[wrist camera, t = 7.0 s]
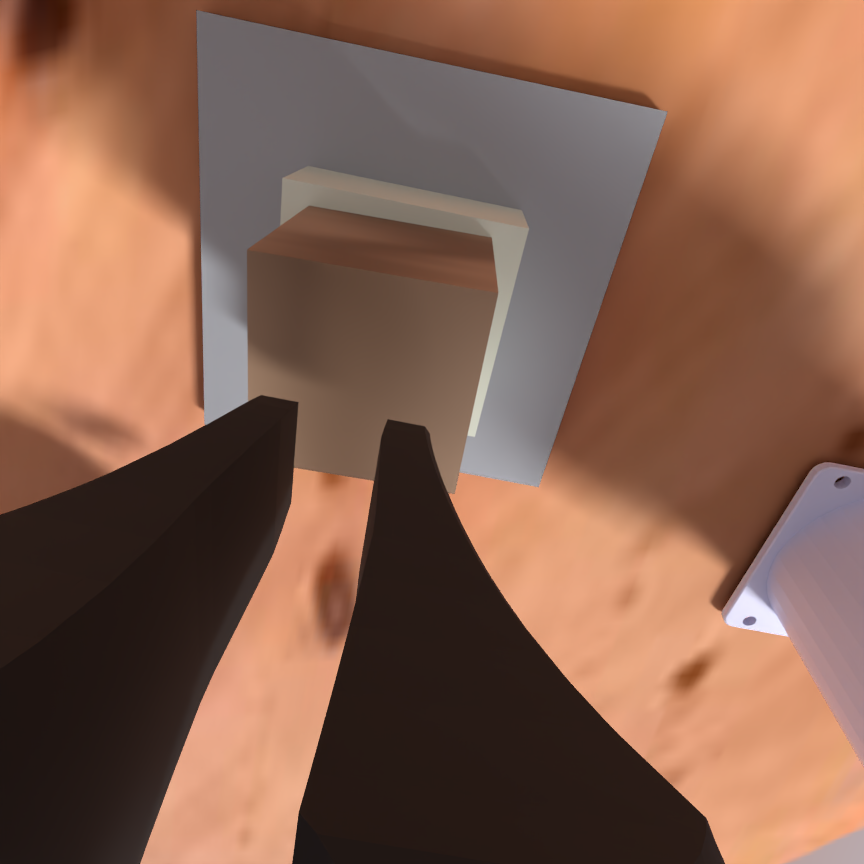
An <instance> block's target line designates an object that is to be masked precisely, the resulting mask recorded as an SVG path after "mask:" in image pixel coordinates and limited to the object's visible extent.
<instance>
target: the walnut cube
mask: <svg viewBox="0 0 864 864" xmlns="http://www.w3.org/2000/svg"><path fill="white" fill-rule="evenodd" d="M497 298H498V285H497V276H496V268H495V259H494V251H493V242H492V237H486V236H480V235H475V234H469V233H463V232H458V231H452V230H446V229H441V228H435V227H429V226H423V225H418V224H412V223H406V222H401V221H395V220H389V219H383V218H378V217H372V216H366V215H361V214H355V213H349V212H344V211H338V210H332V209H326V208H321V207H315V206H308V207H306V208H305V209H303V210H302V211H301V212H299V213H298V214H296V215H295V216H293V217H292V218H291V219H289V220H288V221H286V222H285V223H284V224H282V225H281V226H279V227H278V228H277V229H275V230H274V231H272V232H271V233H270V234H268V235H267V236H265V237H264V238H263V239H261V240H260V241H258V242H257V243H255V244H254V245H253V246H251V247H250V248H248V249H247V340H248V401H250V400H252V399H254V398H256V397H258V396H260V395H264V396H269V397H274V398H280V399H285V400H290V401H295V402H299V403H298V417H297V430H296V444H295V457H294V468H300V469H306V470H312V471H318V472H324V473H330V474H336V475H342V476H348V477H354V478H361V479H367V480H373V481H374V478H375V472H376V466H377V460H378V454H379V448H380V442H381V436H382V433H383V430H384V427H385V425H386V422H387V419H390V420H395V421H400V422H405V423H411V424H416V425H421V426H425V427H426V429H427V430H428V432H429V433H430V439H431V444H432V448H433V452H434V456H435V459H436V462H437V465H438V468H439V471H440V474H441V477H442V480H443V482H444V485H445V487H446V490H447V492H448V493H452V494H455V490H456V485H457V481H458V476H459V471H460V467H461V462H462V458H463V453H464V449H465V444H466V439H467V435H468V430H469V426H470V421H471V416H472V412H473V407H474V403H475V398H476V394H477V389H478V384H479V380H480V375H481V371H482V366H483V362H484V357H485V352H486V348H487V343H488V339H489V334H490V330H491V325H492V320H493V316H494V311H495V307H496V302H497Z"/></svg>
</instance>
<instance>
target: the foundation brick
mask: <svg viewBox="0 0 864 864" xmlns="http://www.w3.org/2000/svg"><path fill="white" fill-rule="evenodd" d="M308 206H315V207H321V208H326V209H332V210H338V211H344V212H349V213H355V214H361V215H366V216H372V217H378V218H383V219H389V220H395V221H401V222H406V223H412V224H418V225H423V226H429V227H435V228H441V229H446V230H452V231H458V232H463V233H469V234H475V235H480V236H486V237H492V242H493V251H494V259H495V268H496V276H497V285H498V298H497V302H496V307H495V311H494V316H493V320H492V325H491V330H490V334H489V339H488V343H487V348H486V352H485V357H484V362H483V366H482V371H481V375H480V380H479V384H478V389H477V394H476V398H475V403H474V407H473V412H472V416H471V421H470V426H469V430H468V435H467V436H472V437H475V435H476V431H477V427H478V423H479V419H480V415H481V412H482V408H483V404H484V400H485V396H486V392H487V389H488V385H489V381H490V377H491V373H492V369H493V365H494V362H495V358H496V354H497V350H498V346H499V342H500V339H501V335H502V331H503V327H504V323H505V319H506V315H507V312H508V308H509V304H510V300H511V296H512V292H513V289H514V285H515V281H516V277H517V273H518V269H519V265H520V262H521V258H522V254H523V250H524V246H525V242H526V239H527V235H528V231H529V227H528V225H527V222H526V220H525V217H524V214H523V212H522V210H519V209H514V208H509V207H505V206H500V205H495V204H490V203H485V202H480V201H475V200H471V199H466V198H461V197H456V196H451V195H446V194H442V193H437V192H432V191H427V190H422V189H417V188H413V187H408V186H403V185H398V184H393V183H388V182H384V181H379V180H374V179H369V178H364V177H359V176H355V175H350V174H345V173H340V172H335V171H330V170H326V169H321V168H316V167H311V166H307V167H305V168H303V169H301V170H298V171H296V172H294V173H292V174H290V175H288V176H286V177H283V178H282V198H281V219H280V226H281V225H282V224H284V223H285V222H286V221H288V220H289V219H291V218H292V217H293V216H295V215H296V214H298V213H299V212H301V211H302V210H303V209H305V208H306V207H308Z"/></svg>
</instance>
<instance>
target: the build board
mask: <svg viewBox="0 0 864 864" xmlns="http://www.w3.org/2000/svg"><path fill="white" fill-rule="evenodd" d="M196 17H197V67H198V118H199V168H200V219H201V270H202V320H203V371H204V421H205V424H206V425H207V424H209V423H210V422H212V421H214V420H216V419H218V418H219V417H221V416H223V415H225V414H227V413H228V412H230V411H232V410H234V409H235V408H237V407H239V406H241V405H243V404H244V403H246V402H248V340H247V249H248V248H250V247H251V246H253V245H254V244H255V243H257V242H258V241H260V240H261V239H263V238H264V237H265V236H267V235H268V234H270V233H271V232H272V231H274V230H275V229H277V228H278V227H279V226H280V219H281V198H282V178H283V177H286V176H288V175H290V174H292V173H294V172H296V171H298V170H301V169H303V168H305V167H307V166H311V167H316V168H321V169H326V170H330V171H335V172H340V173H345V174H350V175H355V176H359V177H364V178H369V179H374V180H379V181H384V182H388V183H393V184H398V185H403V186H408V187H413V188H417V189H422V190H427V191H432V192H437V193H442V194H446V195H451V196H456V197H461V198H466V199H471V200H475V201H480V202H485V203H490V204H495V205H500V206H505V207H509V208H514V209H519V210H522V212H523V214H524V217H525V220H526V222H527V225H528V227H529V231H528V235H527V239H526V242H525V246H524V250H523V254H522V258H521V262H520V265H519V269H518V273H517V277H516V281H515V285H514V289H513V292H512V296H511V300H510V304H509V308H508V312H507V315H506V319H505V323H504V327H503V331H502V335H501V339H500V342H499V346H498V350H497V354H496V358H495V362H494V365H493V369H492V373H491V377H490V381H489V385H488V389H487V392H486V396H485V400H484V404H483V408H482V412H481V415H480V419H479V423H478V427H477V431H476V435H475V437H472V436H467V439H466V444H465V449H464V453H463V458H462V462H461V467H460V471H459V472H461V473H466V474H472V475H477V476H482V477H488V478H493V479H498V480H504V481H509V482H514V483H520V484H525V485H530V486H535V487H539V484H540V482H541V479H542V476H543V473H544V470H545V467H546V464H547V461H548V458H549V455H550V452H551V450H552V447H553V444H554V441H555V438H556V435H557V432H558V429H559V426H560V423H561V420H562V418H563V415H564V412H565V409H566V406H567V403H568V400H569V397H570V394H571V391H572V388H573V386H574V383H575V380H576V377H577V374H578V371H579V368H580V365H581V362H582V359H583V356H584V354H585V351H586V348H587V345H588V342H589V339H590V336H591V333H592V330H593V327H594V324H595V322H596V319H597V316H598V313H599V310H600V307H601V304H602V301H603V298H604V295H605V292H606V290H607V287H608V284H609V281H610V278H611V275H612V272H613V269H614V266H615V263H616V260H617V258H618V255H619V252H620V249H621V246H622V243H623V240H624V237H625V234H626V231H627V228H628V226H629V223H630V220H631V217H632V214H633V211H634V208H635V205H636V202H637V199H638V196H639V194H640V191H641V188H642V185H643V182H644V179H645V176H646V173H647V170H648V167H649V164H650V161H651V159H652V156H653V153H654V150H655V147H656V144H657V141H658V138H659V135H660V132H661V129H662V127H663V124H664V121H665V118H666V115H667V111H662V110H658V109H653V108H648V107H644V106H639V105H634V104H630V103H625V102H621V101H616V100H611V99H607V98H602V97H597V96H593V95H588V94H583V93H579V92H574V91H569V90H565V89H560V88H556V87H551V86H546V85H542V84H537V83H532V82H528V81H523V80H518V79H514V78H509V77H505V76H500V75H495V74H491V73H486V72H481V71H477V70H472V69H467V68H463V67H458V66H454V65H449V64H444V63H440V62H435V61H430V60H426V59H421V58H416V57H412V56H407V55H403V54H398V53H393V52H389V51H384V50H379V49H375V48H370V47H365V46H361V45H356V44H351V43H347V42H342V41H338V40H333V39H328V38H324V37H319V36H314V35H310V34H305V33H300V32H296V31H291V30H287V29H282V28H277V27H273V26H268V25H263V24H259V23H254V22H249V21H245V20H240V19H236V18H231V17H226V16H222V15H217V14H212V13H208V12H203V11H198V10H196Z"/></svg>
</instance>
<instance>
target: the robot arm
mask: <svg viewBox="0 0 864 864" xmlns="http://www.w3.org/2000/svg"><path fill="white" fill-rule="evenodd" d="M298 403H299V402H295V401H290V400H285V399H280V398H274V397H269V396H264V395H260V396H258V397H256V398H254V399H252V400H250V401H248V402H246V403H244V404H243V405H241V406H239V407H237V408H235V409H234V410H232V411H230V412H228V413H227V414H225V415H223V416H221V417H219V418H218V419H216V420H214V421H212V422H210V423H209V424H207V425H205V426H203V427H201V428H199V429H197V430H196V431H194V432H192V433H190V434H188V435H186V436H185V437H183V438H181V439H179V440H177V441H175V442H173V443H171V444H170V445H168V446H165V447H163V448H161V449H159V450H157V451H155V452H153V453H151V454H149V455H147V456H145V457H142V458H140V459H138V460H136V461H134V462H132V463H130V464H128V465H126V466H124V467H122V468H119V469H117V470H115V471H113V472H111V473H109V474H107V475H104V476H102V477H100V478H97V479H95V480H93V481H90V482H88V483H85V484H83V485H80V486H78V487H76V488H73V489H71V490H68V491H65V492H63V493H60V494H57V495H55V496H52V497H49V498H47V499H44V500H41V501H39V502H36V503H33V504H31V505H28V506H25V507H22V508H19V509H16V510H14V511H11V512H7V513H4V514H1V515H0V864H140V862H141V859H142V857H143V854H144V851H145V848H146V845H147V843H148V840H149V837H150V834H151V832H152V829H153V826H154V824H155V821H156V818H157V816H158V813H159V810H160V808H161V805H162V802H163V799H164V797H165V794H166V791H167V789H168V786H169V783H170V781H171V778H172V775H173V772H174V770H175V767H176V764H177V762H178V759H179V757H180V754H181V752H182V749H183V746H184V744H185V741H186V739H187V736H188V733H189V731H190V728H191V726H192V723H193V720H194V718H195V715H196V713H197V710H198V707H199V705H200V702H201V700H202V698H203V696H204V693H205V691H206V689H207V687H208V684H209V682H210V680H211V678H212V676H213V673H214V671H215V669H216V667H217V665H218V663H219V661H220V659H221V657H222V655H223V653H224V651H225V649H226V647H227V645H228V643H229V641H230V639H231V638H232V636H233V634H234V632H235V630H236V628H237V626H238V624H239V622H240V620H241V618H242V616H243V614H244V612H245V610H246V608H247V606H248V604H249V602H250V600H251V598H252V596H253V594H254V592H255V590H256V588H257V586H258V584H259V582H260V580H261V578H262V576H263V574H264V572H265V570H266V568H267V566H268V563H269V561H270V559H271V557H272V555H273V553H274V550H275V547H276V545H277V542H278V539H279V536H280V534H281V531H282V528H283V525H284V522H285V519H286V516H287V513H288V510H289V507H290V504H291V497H292V484H293V470H294V457H295V444H296V430H297V417H298ZM842 476H844V478H843V479H842V480H840V481H838V482H835V481H836V480H837V479H838V478H840V477H842ZM721 614H722V617H723V619H724V621H725V623H726V624H727V625H730V626H733V627H739V628H744V629H750V630H755V631H761V632H766V633H772V634H777V635H783V636H788V637H789V638H790V640H791V641H792V643H793V645H794V647H795V648H796V650H797V652H798V654H799V655H800V657H801V659H802V661H803V662H804V664H805V666H806V668H807V669H808V671H809V673H810V675H811V676H812V678H813V680H814V682H815V683H816V685H817V687H818V689H819V690H820V692H821V694H822V696H823V697H824V699H825V701H826V703H827V704H828V706H829V708H830V710H831V711H832V713H833V715H834V717H835V718H836V720H837V722H838V723H839V725H840V727H841V729H842V730H843V732H844V734H845V736H846V737H847V739H848V741H849V743H850V744H851V746H852V748H853V750H854V751H855V753H856V755H857V757H858V758H859V760H860V762H861V764H862V765H863V767H864V469H862V468H857V467H852V466H847V465H842V464H837V463H831V462H824V463H821V464H818V465H816V466H815V467H813V468H812V470H811V471H810V472H809V473H808V475H807V477H806V478H805V480H804V481H803V483H802V485H801V486H800V488H799V489H798V491H797V492H796V494H795V496H794V497H793V499H792V500H791V502H790V504H789V505H788V507H787V508H786V510H785V512H784V513H783V515H782V516H781V518H780V520H779V521H778V523H777V524H776V526H775V527H774V529H773V531H772V532H771V534H770V535H769V537H768V539H767V540H766V542H765V543H764V545H763V547H762V548H761V550H760V551H759V553H758V554H757V556H756V558H755V559H754V561H753V562H752V564H751V566H750V567H749V569H748V570H747V572H746V574H745V575H744V577H743V578H742V580H741V581H740V583H739V585H738V586H737V588H736V589H735V591H734V593H733V594H732V596H731V597H730V599H729V601H728V602H727V604H726V605H725V607H724V609H723V610H722V613H721ZM746 617H747V618H746ZM292 864H725V863H724V860H723V858H722V856H721V853H720V851H719V849H718V847H717V844H716V842H715V839H714V837H713V834H712V831H711V829H710V826H709V824H708V821H707V819H706V817H705V816H703V815H702V814H701V813H700V812H699V811H698V810H697V809H696V808H695V807H694V806H693V805H692V804H691V803H690V802H689V801H688V800H687V799H686V798H685V797H684V796H682V795H681V794H680V793H679V792H678V791H677V790H676V789H675V788H674V787H673V786H672V785H671V784H670V783H669V782H668V781H667V780H666V779H665V778H664V777H663V776H662V775H660V774H659V773H658V772H657V771H656V770H655V769H654V768H653V767H652V766H651V765H650V764H649V763H648V762H647V761H646V760H645V759H644V758H643V757H642V756H641V755H639V754H638V753H637V752H636V751H635V750H634V749H633V748H632V747H631V746H630V745H629V744H628V743H627V742H626V741H625V740H624V739H623V738H622V737H621V736H620V735H619V734H618V733H617V732H616V731H615V730H614V729H613V728H612V727H611V726H610V725H609V724H608V723H607V722H606V721H605V720H604V719H603V718H602V717H601V715H600V714H599V713H598V712H597V711H596V710H595V709H594V708H593V707H592V706H591V705H590V704H589V703H588V701H587V700H586V699H585V698H584V697H583V696H582V695H581V694H580V693H579V692H578V691H577V690H576V688H575V687H574V686H573V685H572V684H571V683H570V682H569V681H568V680H567V678H566V677H565V676H564V675H563V674H562V672H561V671H560V670H559V669H558V667H557V666H556V665H555V664H554V662H553V661H552V660H551V659H550V658H549V656H548V655H547V654H546V653H545V651H544V650H543V649H542V648H541V646H540V645H539V644H538V643H537V641H536V640H535V639H534V638H533V637H532V635H531V634H530V633H529V632H528V630H527V629H526V628H525V626H524V625H523V624H522V622H521V621H520V619H519V618H518V617H517V615H516V614H515V612H514V611H513V609H512V608H511V607H510V605H509V604H508V602H507V601H506V600H505V598H504V597H503V595H502V593H501V592H500V590H499V589H498V587H497V586H496V584H495V583H494V581H493V579H492V578H491V576H490V575H489V573H488V571H487V570H486V568H485V566H484V565H483V563H482V561H481V560H480V558H479V556H478V554H477V552H476V551H475V549H474V547H473V545H472V543H471V541H470V539H469V537H468V535H467V534H466V532H465V530H464V528H463V526H462V524H461V522H460V519H459V517H458V515H457V513H456V511H455V509H454V506H453V504H452V502H451V499H450V497H449V494H448V492H447V490H446V487H445V485H444V482H443V480H442V477H441V474H440V471H439V468H438V465H437V462H436V459H435V456H434V452H433V448H432V444H431V439H430V433H429V432H428V430H427V429H426V427H425V426H421V425H416V424H411V423H405V422H400V421H395V420H390V419H387V422H386V425H385V427H384V430H383V433H382V436H381V442H380V448H379V454H378V460H377V466H376V472H375V478H374V485H373V491H372V497H371V503H370V509H369V515H368V521H367V528H366V534H365V540H364V546H363V552H362V558H361V564H360V571H359V579H358V588H357V596H356V603H355V607H354V611H353V615H352V619H351V623H350V627H349V631H348V634H347V638H346V642H345V646H344V649H343V653H342V657H341V661H340V665H339V668H338V672H337V676H336V680H335V684H334V687H333V691H332V695H331V698H330V702H329V706H328V709H327V713H326V717H325V720H324V724H323V728H322V731H321V735H320V738H319V742H318V746H317V749H316V753H315V757H314V760H313V764H312V768H311V771H310V775H309V778H308V782H307V785H306V789H305V792H304V796H303V800H302V803H301V807H300V810H299V816H298V823H297V831H296V839H295V847H294V855H293V863H292Z"/></svg>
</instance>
